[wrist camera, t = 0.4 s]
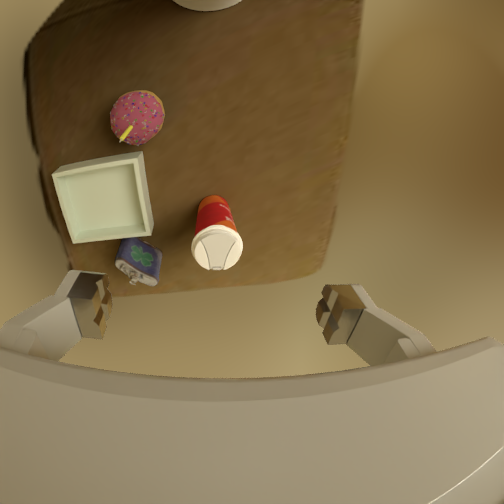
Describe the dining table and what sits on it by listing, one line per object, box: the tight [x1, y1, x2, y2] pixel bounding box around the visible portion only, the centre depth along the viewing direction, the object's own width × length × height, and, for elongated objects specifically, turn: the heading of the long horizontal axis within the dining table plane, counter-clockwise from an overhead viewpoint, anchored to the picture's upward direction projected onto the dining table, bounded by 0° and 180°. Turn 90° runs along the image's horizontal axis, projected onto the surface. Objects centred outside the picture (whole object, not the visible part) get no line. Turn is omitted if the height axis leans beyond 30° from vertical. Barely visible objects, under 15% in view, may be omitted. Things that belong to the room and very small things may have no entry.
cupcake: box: [110, 90, 165, 146], centre depth 34 cm, size 9×8×12 cm
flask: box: [115, 237, 162, 286], centre depth 50 cm, size 9×3×11 cm, turn 46°
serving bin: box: [52, 151, 154, 244], centre depth 44 cm, size 15×17×4 cm
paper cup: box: [191, 195, 243, 270], centre depth 46 cm, size 8×8×14 cm
